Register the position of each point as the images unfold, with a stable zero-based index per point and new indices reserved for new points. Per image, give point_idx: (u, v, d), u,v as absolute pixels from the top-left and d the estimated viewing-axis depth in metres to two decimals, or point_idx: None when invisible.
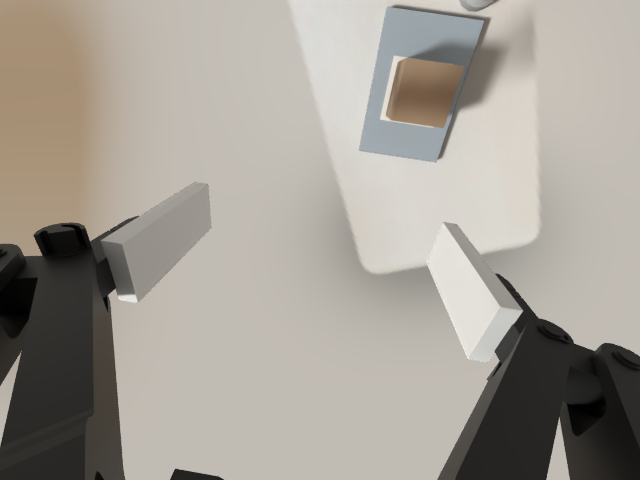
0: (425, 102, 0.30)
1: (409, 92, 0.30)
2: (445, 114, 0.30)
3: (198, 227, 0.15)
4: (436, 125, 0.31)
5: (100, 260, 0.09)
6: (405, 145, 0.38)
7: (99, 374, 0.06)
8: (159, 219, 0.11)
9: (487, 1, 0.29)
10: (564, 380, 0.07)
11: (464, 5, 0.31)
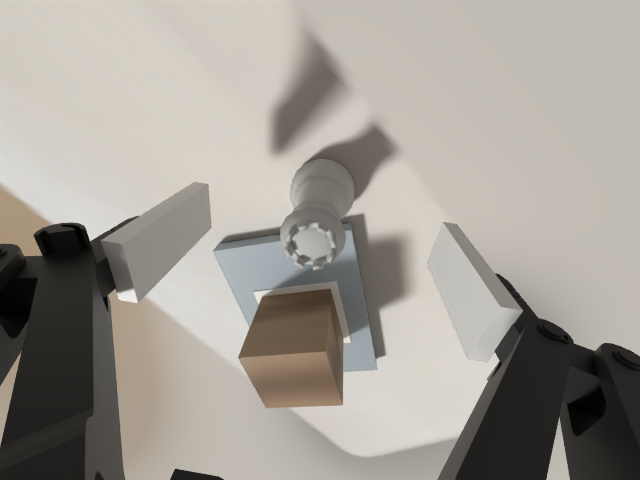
0: (297, 388, 0.20)
1: (269, 383, 0.20)
2: (334, 394, 0.19)
3: (198, 227, 0.15)
4: (330, 404, 0.20)
5: (100, 260, 0.09)
6: None
7: (99, 374, 0.06)
8: (159, 219, 0.11)
9: None
10: (564, 380, 0.07)
11: None
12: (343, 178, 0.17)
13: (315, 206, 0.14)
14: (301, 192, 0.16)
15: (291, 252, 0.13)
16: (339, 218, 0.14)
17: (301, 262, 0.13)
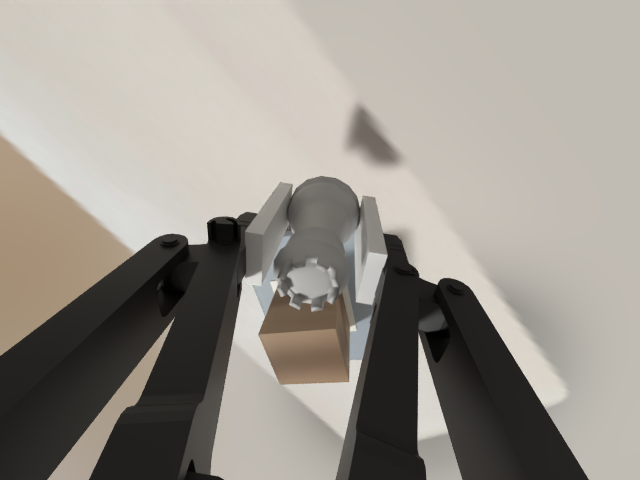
0: (308, 364, 0.22)
1: (284, 360, 0.22)
2: (342, 370, 0.22)
3: (285, 223, 0.16)
4: (337, 380, 0.23)
5: (243, 248, 0.11)
6: None
7: (217, 359, 0.07)
8: (275, 214, 0.13)
9: None
10: (417, 304, 0.09)
11: None
12: (346, 199, 0.15)
13: (314, 235, 0.12)
14: (299, 215, 0.15)
15: (285, 291, 0.11)
16: (342, 248, 0.12)
17: (297, 303, 0.11)
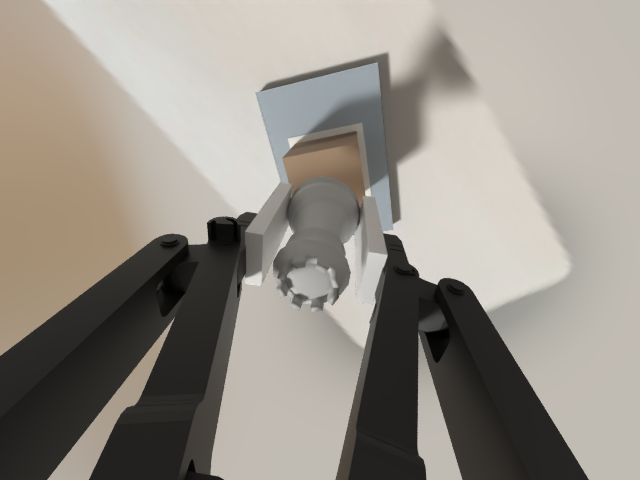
0: None
1: None
2: None
3: (285, 222, 0.16)
4: None
5: (243, 248, 0.11)
6: None
7: (217, 359, 0.07)
8: (275, 214, 0.13)
9: None
10: (417, 304, 0.09)
11: None
12: (347, 199, 0.15)
13: (314, 235, 0.12)
14: (299, 215, 0.14)
15: (285, 291, 0.11)
16: (342, 248, 0.12)
17: (297, 303, 0.11)
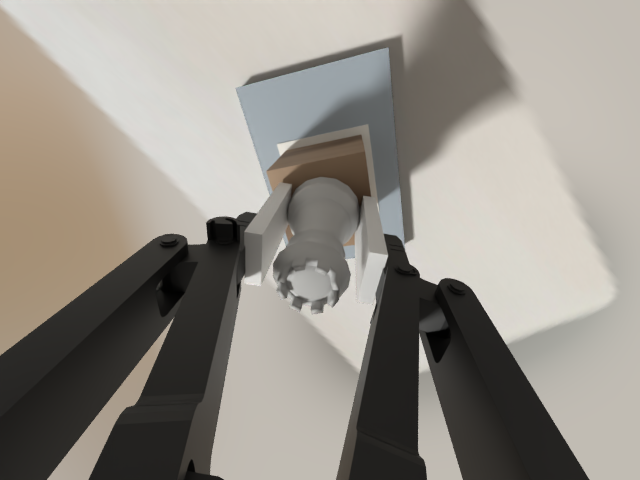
0: None
1: None
2: None
3: (284, 222, 0.16)
4: None
5: (242, 248, 0.11)
6: None
7: (217, 359, 0.07)
8: (274, 214, 0.13)
9: None
10: (418, 305, 0.09)
11: None
12: (346, 200, 0.15)
13: (314, 237, 0.12)
14: (299, 216, 0.14)
15: (285, 294, 0.11)
16: (342, 250, 0.12)
17: (298, 305, 0.11)
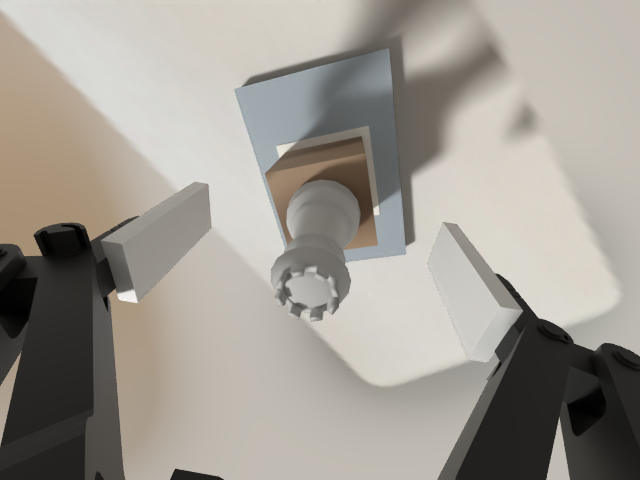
0: None
1: None
2: (370, 227, 0.17)
3: (198, 227, 0.15)
4: (364, 244, 0.18)
5: (100, 260, 0.09)
6: None
7: (99, 374, 0.06)
8: (159, 219, 0.11)
9: None
10: (564, 380, 0.07)
11: None
12: (347, 203, 0.15)
13: (313, 242, 0.12)
14: (298, 220, 0.14)
15: (283, 300, 0.10)
16: (342, 255, 0.12)
17: (296, 312, 0.11)
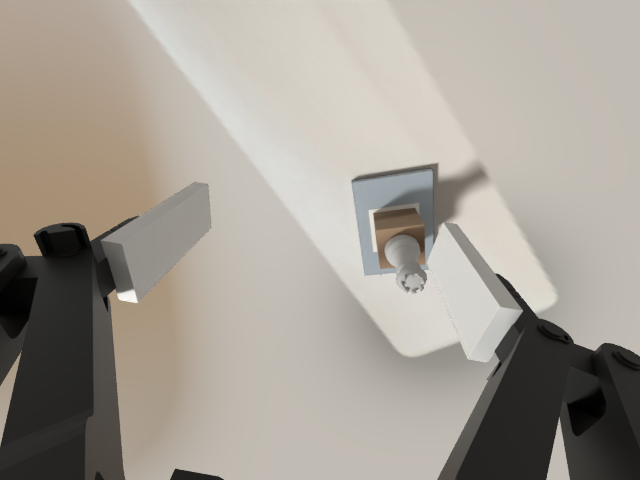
0: None
1: None
2: (422, 255, 0.36)
3: (198, 227, 0.15)
4: None
5: (100, 260, 0.09)
6: None
7: (99, 374, 0.06)
8: (159, 219, 0.11)
9: None
10: (564, 380, 0.07)
11: None
12: (416, 246, 0.34)
13: (411, 264, 0.30)
14: (397, 253, 0.33)
15: (403, 285, 0.29)
16: None
17: (407, 290, 0.30)
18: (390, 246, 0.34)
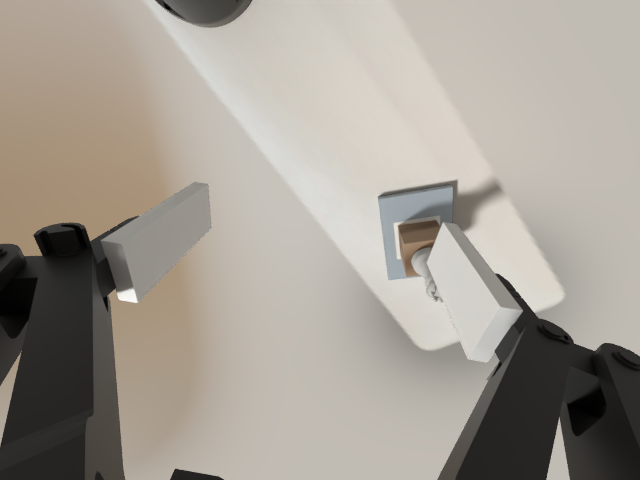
0: None
1: None
2: None
3: (198, 227, 0.15)
4: None
5: (100, 260, 0.09)
6: None
7: (99, 374, 0.06)
8: (159, 219, 0.11)
9: None
10: (564, 380, 0.07)
11: None
12: None
13: None
14: (424, 265, 0.37)
15: (433, 295, 0.34)
16: None
17: (436, 299, 0.34)
18: (417, 258, 0.39)
